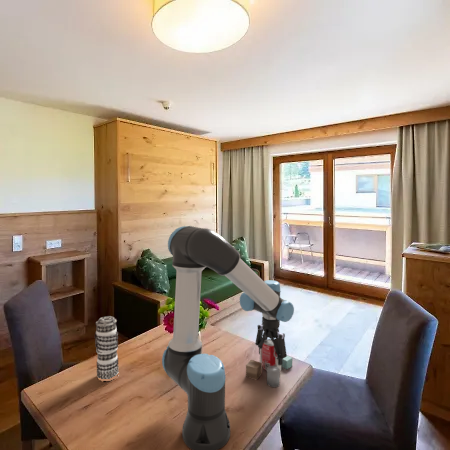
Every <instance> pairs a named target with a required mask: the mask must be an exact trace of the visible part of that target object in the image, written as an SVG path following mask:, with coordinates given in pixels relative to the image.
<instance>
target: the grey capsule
mask: <svg viewBox="0 0 450 450" xmlns="http://www.w3.org/2000/svg"><path fill="white" fill-rule="evenodd" d="M280 373H281V371H280V369H279V368H278V367H276V366H269V367H268V368H267V371H266V384H267V385H268V386H269V387H270V388H277V387H280V383H281V382H280V376H281V375H280Z"/></svg>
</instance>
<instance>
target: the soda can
mask: <svg viewBox="0 0 450 450" xmlns="http://www.w3.org/2000/svg"><path fill="white" fill-rule="evenodd" d="M276 357H277V354H276V351H275V347H274V344H273V342H272V340H271V339H270V338H269V339H268V338H267V340H265V341H264V344H263V346H262V370H264V371H266V372H267V368H268V367H269V366H276Z"/></svg>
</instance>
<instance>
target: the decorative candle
mask: <svg viewBox="0 0 450 450" xmlns="http://www.w3.org/2000/svg"><path fill="white" fill-rule="evenodd" d="M117 321H118V320H117V318H115V317H114V316H111V315H107V316H102V317H100V318H99V319H98V320H97V321H96V322H95V326H96V331H95V332H94V339H95V341H94V344H95V346H94V347H96V349H95V352H96V353H97V359H96V360H97V361H96V377H98V378H101V379H110V378H112V377H114V376H116V375H117V374H118V373H120V372H119V370H120V369H119V368H120V367H119V366H120V365H119V357H118V348H119V341H118V339H119V336H118V335H119V332H118V331H117V330H118V329H117Z"/></svg>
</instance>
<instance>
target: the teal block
mask: <svg viewBox="0 0 450 450" xmlns="http://www.w3.org/2000/svg"><path fill="white" fill-rule="evenodd" d="M291 367H293V357H292V356H289V355H287V357H285V358H283V361H282V365H281V368H282V369H285V370H289V369H290V368H291ZM288 368H289V369H288Z"/></svg>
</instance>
